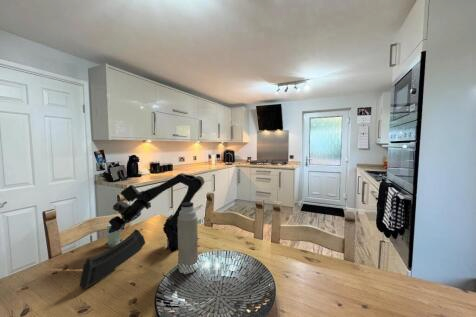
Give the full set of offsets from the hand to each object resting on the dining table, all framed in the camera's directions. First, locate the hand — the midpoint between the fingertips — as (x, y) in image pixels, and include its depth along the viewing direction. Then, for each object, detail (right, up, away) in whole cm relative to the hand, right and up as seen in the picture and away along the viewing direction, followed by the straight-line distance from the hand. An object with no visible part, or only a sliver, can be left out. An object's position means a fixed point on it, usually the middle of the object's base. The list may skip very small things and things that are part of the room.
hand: (115, 228), depth 102 cm
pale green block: (-1, -9, +1) cm, 9 cm away
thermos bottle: (+42, -11, -17) cm, 46 cm away
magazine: (+11, -11, -16) cm, 22 cm away
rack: (-1, -9, +1) cm, 9 cm away
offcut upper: (+5, -8, 0) cm, 10 cm away
